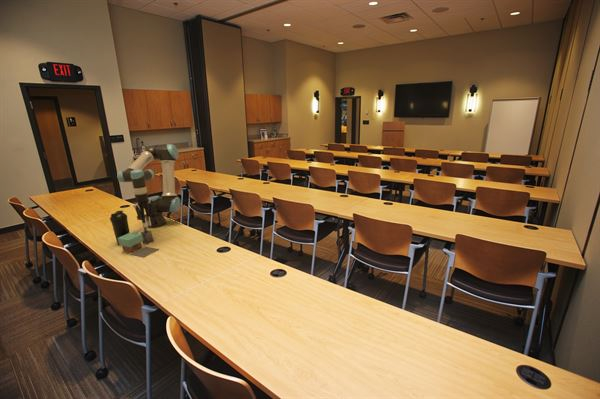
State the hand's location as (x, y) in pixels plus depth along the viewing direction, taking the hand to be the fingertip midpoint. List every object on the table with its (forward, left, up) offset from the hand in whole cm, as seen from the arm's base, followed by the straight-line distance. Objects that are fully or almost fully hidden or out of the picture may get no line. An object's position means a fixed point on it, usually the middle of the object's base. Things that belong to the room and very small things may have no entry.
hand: (147, 226), depth 201 cm
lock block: (0, -3, -13) cm, 13 cm away
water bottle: (+6, -19, -13) cm, 24 cm away
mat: (+12, +8, -13) cm, 19 cm away
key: (+4, -3, -4) cm, 7 cm away
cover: (+12, -3, -8) cm, 15 cm away
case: (+12, -3, -13) cm, 18 cm away
